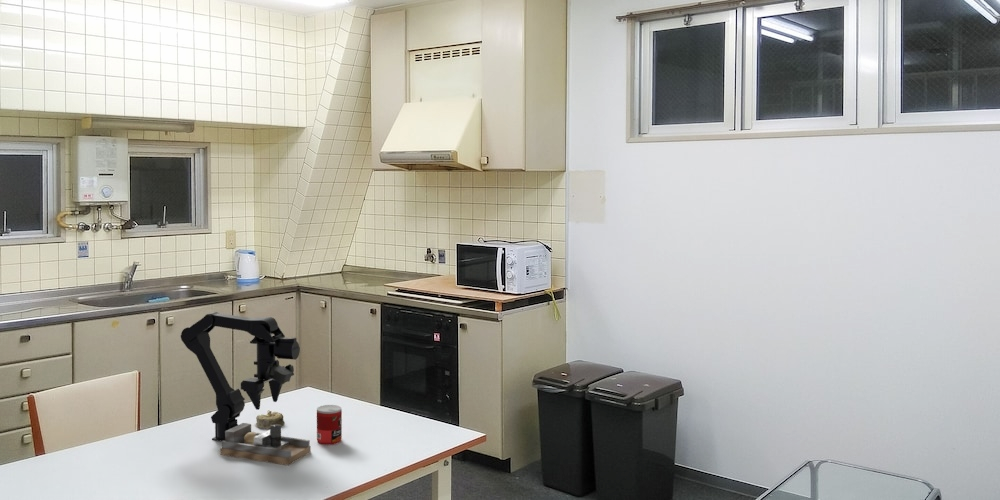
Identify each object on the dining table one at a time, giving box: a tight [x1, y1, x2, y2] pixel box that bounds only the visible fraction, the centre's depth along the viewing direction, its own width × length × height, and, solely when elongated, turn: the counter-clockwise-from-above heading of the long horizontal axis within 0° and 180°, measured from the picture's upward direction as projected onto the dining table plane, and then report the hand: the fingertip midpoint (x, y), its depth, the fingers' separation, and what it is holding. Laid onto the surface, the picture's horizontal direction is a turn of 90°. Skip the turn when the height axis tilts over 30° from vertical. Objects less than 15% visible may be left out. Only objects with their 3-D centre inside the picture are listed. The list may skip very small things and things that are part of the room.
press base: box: [220, 422, 312, 466], centre depth 244 cm, size 24×12×7 cm, turn 71°
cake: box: [254, 409, 285, 430], centre depth 273 cm, size 10×10×5 cm
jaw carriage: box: [254, 424, 289, 449], centre depth 244 cm, size 7×8×7 cm
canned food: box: [316, 404, 343, 446], centre depth 256 cm, size 8×8×11 cm
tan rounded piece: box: [244, 431, 257, 445], centre depth 246 cm, size 4×4×4 cm
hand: (266, 405), depth 254 cm, fingers open, 9 cm apart
